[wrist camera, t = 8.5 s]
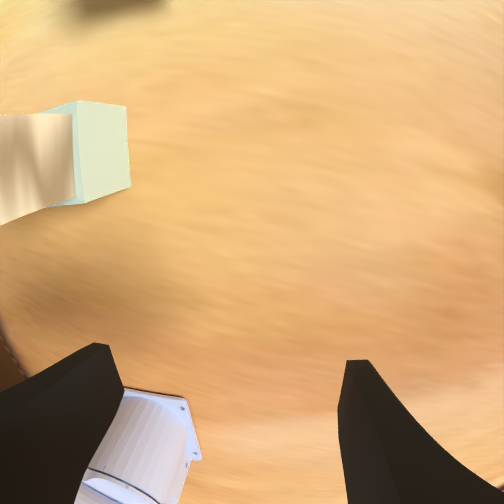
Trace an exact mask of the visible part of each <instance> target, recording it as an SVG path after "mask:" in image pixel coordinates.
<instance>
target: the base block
mask: <svg viewBox="0 0 504 504" xmlns="http://www.w3.org/2000/svg"><path fill="white" fill-rule="evenodd" d="M38 114H72V129H73V160H74V176H75V188H76V197H73V198H71V199H68V200H65V201H62V202H59V203H56V204H54V205H51V206H48V207H54V206H63V205H73V204H83V203H87V202H90V201H92V200H95V199H98V198H101V197H103V196H106V195H109V194H112V193H115V192H117V191H120V190H123V189H126V188H129V187H131V179H130V168H129V155H128V140H127V120H126V106H120V105H113V104H105V103H98V102H89V101H80V100H76V101H73V102H70V103H67V104H63V105H60V106H57V107H55V108H52V109H49V110H46V111H43V112H40V113H38Z"/></svg>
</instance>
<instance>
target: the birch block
mask: <svg viewBox="0 0 504 504" xmlns="http://www.w3.org/2000/svg"><path fill="white" fill-rule="evenodd" d="M73 197H76V188H75V176H74V160H73V129H72V114H6V115H0V225H2V224H5V223H7V222H10V221H12V220H15V219H17V218H19V217H22V216H25V215H27V214H30V213H32V212H35V211H37V210H40V209H43V208H45V207H48V206H51V205H54V204H56V203H59V202H62V201H65V200H68V199H71V198H73Z"/></svg>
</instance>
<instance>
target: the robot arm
mask: <svg viewBox="0 0 504 504" xmlns="http://www.w3.org/2000/svg"><path fill="white" fill-rule="evenodd" d="M337 410H338V435H339V444H340V451H341V457H342V464H343V470H344V477H345V484H346V491H347V499H348V504H504V492H502V491H501V490H499V489H497V488H495V487H494V486H492V485H491V484H489V483H488V482H486V481H485V480H483V479H482V478H480V477H479V476H477V475H476V474H475V473H473V472H472V471H470V470H469V469H467V468H466V467H465V466H464V465H462V464H461V463H460V462H459V461H457V460H456V459H455V458H454V457H453V456H451V455H450V454H449V453H448V452H447V451H446V450H445V449H444V448H442V447H441V446H440V445H439V444H438V443H437V442H436V441H435V440H434V439H433V438H432V437H431V436H430V435H429V434H428V433H427V432H426V430H425V429H424V428H423V427H422V426H421V425H420V424H419V423H418V422H417V421H416V420H415V418H414V417H413V416H412V415H411V414H410V413H409V411H408V410H407V409H406V408H405V407H404V405H403V404H402V403H401V402H400V401H399V399H398V398H397V397H396V396H395V394H394V393H393V392H392V391H391V389H390V388H389V387H388V385H387V384H386V383H385V381H384V380H383V379H382V377H381V376H380V375H379V373H378V372H377V371H376V369H375V368H374V367H373V365H372V364H371V363H370V361H369V360H347V362H346V368H345V373H344V379H343V384H342V389H341V394H340V399H339V404H338V409H337ZM191 460H197V461H200V460H202V454H201V451H200V447H199V444H198V440H197V437H196V433H195V429H194V426H193V422H192V418H191V414H190V410H189V406H188V402H187V401H186V400H185V399H184V398H181V397H174V396H167V395H161V394H155V393H149V392H143V391H138V390H133V389H127V388H124V387H123V385H122V382H121V379H120V377H119V374H118V371H117V368H116V365H115V362H114V359H113V356H112V353H111V350H110V347H109V345H106V344H100V343H92V344H90V345H88V346H86V347H84V348H82V349H80V350H78V351H76V352H75V353H73V354H71V355H69V356H68V357H66V358H64V359H62V360H61V361H59V362H57V363H55V364H54V365H52V366H50V367H48V368H47V369H45V370H43V371H42V372H40V373H38V374H36V375H34V376H32V377H30V378H28V379H26V380H25V381H23V382H21V383H19V384H17V385H15V386H13V387H11V388H9V389H6V390H4V391H2V392H0V504H177V503H178V501H179V498H180V495H181V492H182V489H183V486H184V482H185V479H186V476H187V473H188V470H189V467H190V463H191Z"/></svg>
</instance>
